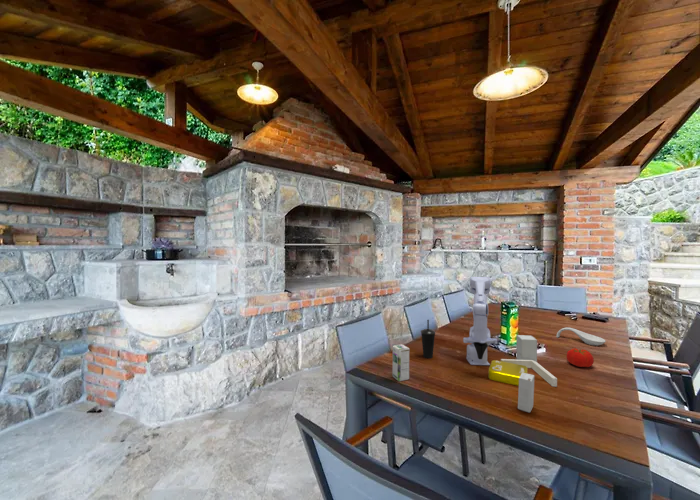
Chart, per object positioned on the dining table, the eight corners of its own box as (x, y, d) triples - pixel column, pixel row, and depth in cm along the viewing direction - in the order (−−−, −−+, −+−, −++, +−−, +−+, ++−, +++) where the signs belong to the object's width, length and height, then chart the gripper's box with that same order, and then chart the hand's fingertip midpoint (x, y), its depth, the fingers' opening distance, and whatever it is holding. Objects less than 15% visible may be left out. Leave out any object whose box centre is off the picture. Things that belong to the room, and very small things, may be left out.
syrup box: (391, 376, 138) (391, 345, 138) (402, 374, 141) (402, 343, 140) (398, 382, 133) (398, 349, 132) (409, 379, 135) (409, 347, 135)
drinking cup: (435, 354, 163) (435, 318, 162) (435, 360, 156) (435, 322, 155) (421, 353, 166) (421, 317, 165) (420, 358, 158) (420, 321, 158)
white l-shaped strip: (518, 384, 129) (518, 377, 129) (500, 365, 149) (500, 359, 148) (556, 386, 128) (557, 378, 128) (534, 367, 147) (534, 360, 147)
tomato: (589, 362, 152) (589, 348, 151) (596, 371, 142) (596, 355, 141) (563, 359, 156) (564, 345, 156) (568, 367, 146) (569, 352, 146)
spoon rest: (606, 344, 178) (607, 332, 178) (604, 349, 170) (604, 336, 170) (559, 335, 195) (559, 324, 195) (554, 339, 187) (554, 328, 187)
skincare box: (520, 402, 116) (521, 371, 115) (534, 406, 113) (534, 374, 112) (517, 409, 111) (517, 377, 111) (531, 413, 108) (531, 380, 108)
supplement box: (537, 365, 149) (537, 340, 149) (521, 364, 151) (521, 339, 150) (531, 359, 156) (531, 335, 156) (515, 358, 158) (516, 334, 157)
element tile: (526, 388, 127) (526, 377, 127) (487, 380, 135) (487, 369, 135) (527, 375, 140) (527, 364, 139) (492, 367, 148) (492, 358, 147)
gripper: (466, 331, 135) (466, 361, 135) (500, 332, 133) (499, 362, 134) (462, 326, 142) (461, 355, 142) (494, 327, 140) (493, 356, 141)
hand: (479, 358), depth 138 cm, fingers closed
